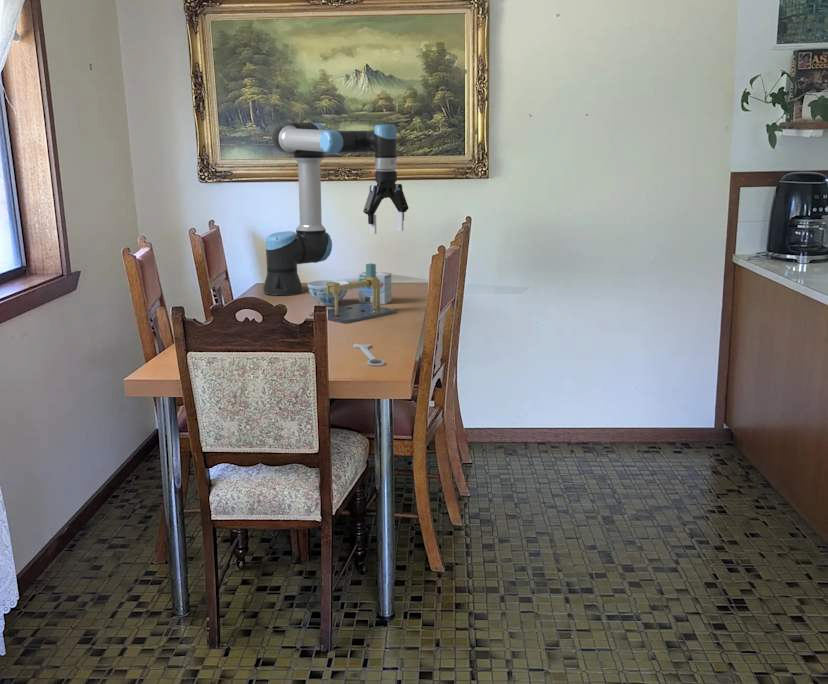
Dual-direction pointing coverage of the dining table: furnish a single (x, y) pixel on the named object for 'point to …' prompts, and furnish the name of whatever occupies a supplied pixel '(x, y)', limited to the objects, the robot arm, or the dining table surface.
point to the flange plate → (357, 312)
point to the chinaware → (325, 292)
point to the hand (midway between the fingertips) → (386, 232)
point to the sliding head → (372, 279)
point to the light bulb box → (385, 288)
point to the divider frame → (336, 288)
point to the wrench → (369, 355)
